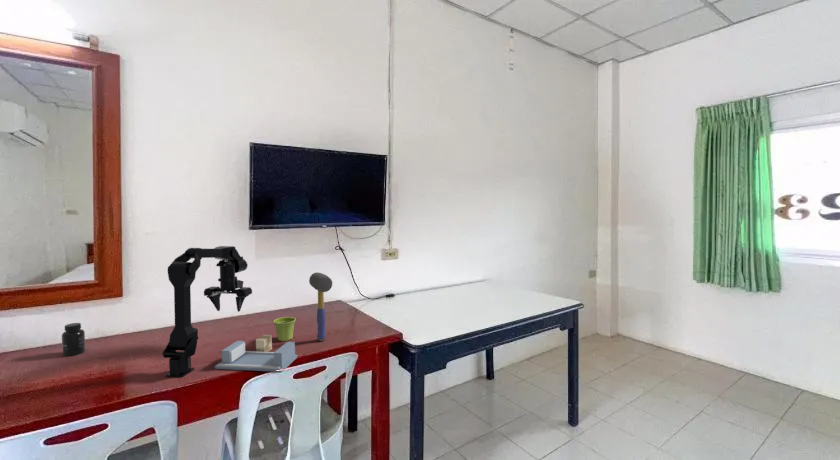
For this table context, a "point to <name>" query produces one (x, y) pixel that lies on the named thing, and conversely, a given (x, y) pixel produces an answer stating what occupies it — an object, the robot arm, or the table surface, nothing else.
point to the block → (264, 343)
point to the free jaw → (233, 352)
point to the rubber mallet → (321, 300)
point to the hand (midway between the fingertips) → (228, 311)
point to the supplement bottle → (73, 340)
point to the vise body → (263, 360)
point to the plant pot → (284, 328)
